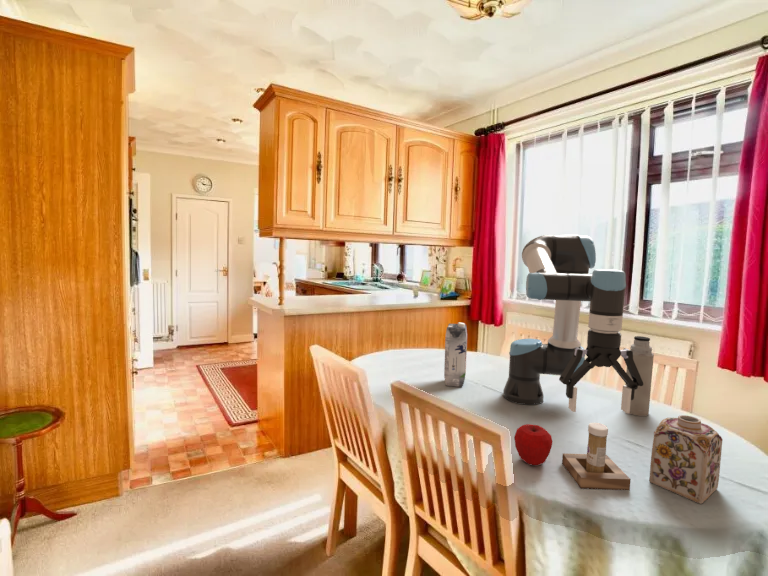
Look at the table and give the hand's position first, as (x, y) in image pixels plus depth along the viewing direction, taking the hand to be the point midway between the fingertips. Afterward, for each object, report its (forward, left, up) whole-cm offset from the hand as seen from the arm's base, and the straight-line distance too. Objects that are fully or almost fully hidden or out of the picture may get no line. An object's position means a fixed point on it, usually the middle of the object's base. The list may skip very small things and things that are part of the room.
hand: (598, 410), depth 108 cm
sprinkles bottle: (0, 0, -18) cm, 18 cm away
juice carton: (-71, -27, -18) cm, 78 cm away
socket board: (0, 0, -18) cm, 18 cm away
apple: (-6, -14, -18) cm, 24 cm away
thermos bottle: (-45, +36, -18) cm, 60 cm away
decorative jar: (+3, +21, -18) cm, 28 cm away
